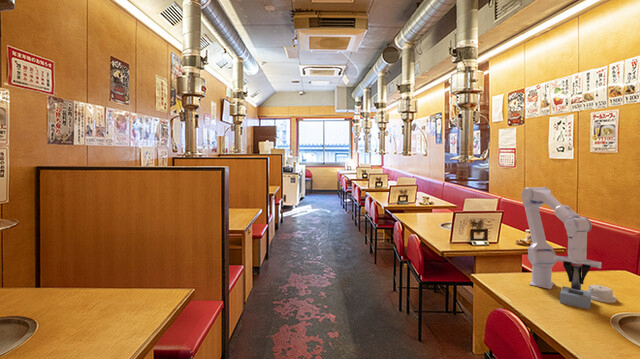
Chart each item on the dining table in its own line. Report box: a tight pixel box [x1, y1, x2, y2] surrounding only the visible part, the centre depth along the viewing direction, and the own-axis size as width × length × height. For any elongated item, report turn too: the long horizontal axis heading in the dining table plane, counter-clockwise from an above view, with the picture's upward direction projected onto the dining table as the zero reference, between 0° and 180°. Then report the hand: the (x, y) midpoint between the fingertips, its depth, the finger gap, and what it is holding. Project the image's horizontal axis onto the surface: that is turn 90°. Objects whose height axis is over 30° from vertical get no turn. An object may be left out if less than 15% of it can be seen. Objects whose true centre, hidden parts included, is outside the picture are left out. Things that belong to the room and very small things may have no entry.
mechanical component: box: [586, 284, 618, 304], centre depth 131 cm, size 10×4×10 cm
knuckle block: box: [559, 285, 592, 310], centre depth 127 cm, size 9×9×4 cm
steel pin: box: [570, 264, 582, 290], centre depth 127 cm, size 3×3×9 cm
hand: (576, 282), depth 127 cm, fingers closed on steel pin, 3 cm apart
